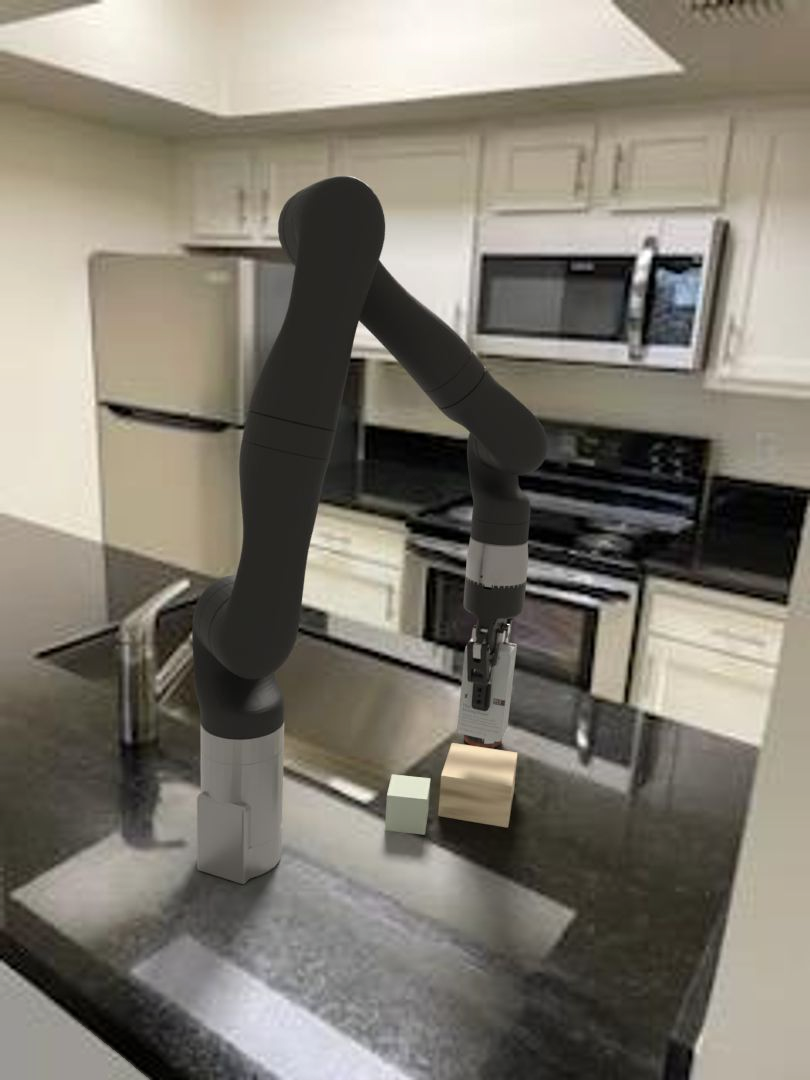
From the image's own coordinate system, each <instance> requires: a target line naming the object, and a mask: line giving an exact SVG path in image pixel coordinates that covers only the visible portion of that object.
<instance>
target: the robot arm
mask: <svg viewBox="0 0 810 1080" xmlns="http://www.w3.org/2000/svg"><path fill="white" fill-rule="evenodd" d="M277 225H278V226H277V234H278V240H279V243H280V246H281V249H282V251H283V252H284V254H285V256H286V258H287V259H288V261H289V262H290V263H291V264H292V265H293V266H294V274H293V281H292V286H291V292H290V298H289V302H288V307H287V310H286V313H285V317H284V320H283V323H282V326H281V328H280V330H279V332H278V335H277V337H276V339H275V341H274V343H273V344H272V347H271V349H270V351H269V354H268V356H267V358H266V360H265V361H264V364H263V366H262V368H261V371H260V372H259V376H258V377H257V381H256V383H255V385H254V388H253V391H252V395H251V398H250V402H249V405H248V411H247V414H246V420H245V425H244V430H243V434H242V439H241V443H240V449H239V458H238V459H239V461H238V462H239V463H238V465H239V466H238V472H239V475H238V477H239V491H240V503H241V515H242V527H243V528H242V543H241V544H242V546H241V552H240V558H239V562H238V566H237V571H236V574H234V575H233V574H232V575H227V576H223V577H220V578H218V579H216V580H215V581H213V582H212V583H211V584H209V585H208V586H206V588H205V589H204V590H203V592H202V593H201V594H200V596H199V597H198V600H197V602H196V604H195V607H194V610H193V611H194V612H193V617H192V628H191V635H192V665H193V685H194V692H195V696H196V700H197V703H198V706H199V713H200V714H199V715H200V793H199V794H198V795H197V796H196V845H197V846H196V854H197V856H196V857H197V858H196V859H197V860H196V861H197V862H196V865H197V871H200V872H202V873H206V874H209V875H212V876H216V877H219V878H222V879H224V880H229V881H231V882H234V883H237V884H241V885H244V884H246V883H247V882H248V881H249V880H250V879H253V878H255V877H259V876H261V875H263V874H265V873H268V872H269V871H271V870H273V868H275V867H276V866H277V864H278V863H279V862H280V860H281V858H282V854H283V853H282V852H283V851H282V850H283V847H282V845H283V807H284V805H283V803H284V802H283V801H284V800H283V797H284V796H283V794H284V793H283V792H284V755H285V754H284V752H285V751H284V750H285V749H284V748H285V746H284V745H285V717H286V715H285V714H286V713H285V711H286V710H285V707H286V705H285V704H286V703H285V698H284V694H283V691H282V689H281V686H280V685H279V683H278V680H277V676H276V673H275V672H277V670H279V669H280V668H281V667H282V666H283V665H284V664H285V662H286V661H287V660H288V658H289V657H290V656H291V653H292V652H293V649H294V647H295V644H296V641H297V638H298V635H299V628H300V621H301V613H302V604H303V595H304V587H305V578H306V577H305V576H306V571H307V563H308V562H307V561H308V556H309V551H310V546H311V545H310V544H311V542H312V536H313V532H314V528H315V524H316V518H317V514H318V509H319V506H320V505H319V504H320V500H321V495H322V490H323V486H324V483H325V482H324V481H325V477H326V473H327V470H328V467H329V463H330V459H331V455H332V449H333V446H334V441H335V437H336V433H337V432H336V430H337V428H338V422H339V417H340V410H341V405H342V402H343V397H344V396H343V395H344V390H345V388H346V381H347V378H348V372H349V367H350V362H351V358H352V352H353V351H352V350H353V346H354V341H355V337H356V334H357V333H356V332H357V330H358V329H357V328H358V325H359V323H360V324H362V326H363V327H365V328H366V330H368V331H369V332H370V334H371V335H372V336H373V337H375V339H377V341H378V342H379V343H380V344H381V345H382V346H383V347H384V348H385V349H386V350H387V352H389V353H390V355H391V356H392V357H393V358H394V359H395V360H396V361H397V362H398V363H399V364H400V365H401V367H402V368H403V369H404V370H405V371H406V373H408V375H409V376H410V377H411V378H412V380H414V381H415V383H416V384H417V385H418V386H419V388H420V389H421V390H422V391H423V392H424V393H425V395H426V396H427V397H428V398H429V399H430V400H431V401H432V403H433V404H435V406H436V407H437V408H438V409H439V411H440V412H441V413H443V415H444V416H445V417H447V418H448V419H449V420H451V421H453V422H455V423H456V424H458V425H460V426H462V427H463V428H465V430H466V431H468V432H469V434H468V437H467V438H468V439H467V444H466V445H467V446H466V454H467V455H466V459H467V467H468V476H469V484H470V485H469V486H470V490H471V495H472V501H473V507H472V514H471V522H470V523H471V525H470V537H469V544H468V548H467V553H466V565H465V566H466V567H465V579H464V590H463V592H464V593H463V608H464V609H465V610H466V611H467V612H468V613H470V614H472V615H474V616H475V617H476V618H477V622H476V624H474V625H473V627H472V631H471V638H472V639H473V641H470V640H468V642H467V643H466V646H467V679H468V682H473V692H472V708H473V709H476V710H481V711H487V710H488V709H489V707H490V698H491V686H492V682H493V672H494V667H495V666H497V665H498V664H499V654H500V651H501V646H502V644H503V643H504V644H506V643H507V642H508V643H510V642H511V641H510V640H511V633H512V626H513V621H514V618H517V617H519V616H520V615H522V614H523V612H524V608H525V598H526V597H525V596H526V586H527V578H528V577H527V576H528V568H529V567H528V566H529V547H528V544H529V542H528V541H529V531H530V520H531V502H530V499H529V498H528V496H527V495H526V494H525V493H524V492H523V491H522V489H521V487H520V485H519V476H524V475H528V474H531V473H533V472H535V471H536V470H538V469H539V468H540V467H541V466H542V464H543V463H544V462H545V460H546V457H547V455H548V454H547V453H548V450H549V449H548V437H547V436H548V435H547V434H546V430H545V429H544V427H543V425H542V423H541V422H540V421H539V419H538V418H537V416H536V415H534V413H533V412H532V411H531V410H530V409H529V408H528V407H527V406H525V404H524V403H523V402H521V400H520V399H518V398H517V397H516V396H514V394H512V393H511V392H510V391H509V390H508V389H506V388H505V387H504V386H503V385H502V384H500V383H499V382H498V381H497V380H496V379H495V378H494V377H493V376H492V374H491V373H490V371H489V370H488V369H487V367H486V366H485V365H484V363H483V362H482V361H481V359H479V357H478V356H477V355H476V353H475V352H474V351H473V350H472V348H470V346H469V345H468V344H467V343H466V342H465V340H464V339H463V338H462V337H461V336H460V335H459V334H458V333H457V332H456V331H455V330H454V329H453V328H452V327H451V326H450V325H449V324H447V322H445V321H444V320H443V318H441V317H439V316H438V315H437V314H436V313H435V312H433V311H432V310H431V309H430V308H428V307H427V306H426V305H425V304H424V303H422V302H421V301H420V300H418V299H417V298H416V297H415V296H414V295H412V294H411V293H410V292H409V290H407V289H406V288H405V287H404V286H403V285H402V284H401V283H399V281H398V280H397V279H396V278H395V277H394V276H393V275H392V274H391V273H390V271H389V270H388V269H387V268H386V267H385V265H384V264H383V263H382V261H381V260H380V258H381V256H382V252H383V247H384V245H385V244H384V243H385V239H386V220H385V213H384V210H383V206H382V204H381V201H380V199H379V197H378V195H377V194H376V192H375V191H374V190H373V188H372V187H371V186H370V185H368V184H367V183H366V182H365V181H363V180H362V179H359V178H358V177H354V176H350V175H336V176H335V175H334V176H331V177H327V178H324V179H321V180H319V181H317V182H315V183H312V184H311V185H308V186H306V187H304V188H303V189H300V190H299V191H297V192H296V193H294V194H293V195H292V196H291V197H289V198H288V200H287V201H285V204H284V205H283V207H282V209H281V211H280V213H279V218H278V223H277ZM493 654H494V657H493V659H489V655H493ZM478 670H481V671H482V672H483V673H479V672H478Z"/></svg>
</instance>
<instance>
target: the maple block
mask: <svg viewBox="0 0 810 1080" xmlns="http://www.w3.org/2000/svg"><path fill="white" fill-rule="evenodd" d="M445 759H446V760H445V761H444V762H445V763H444V766H443V769H442V771H441V775H440V787H439V801H438V811H437V812H438V814H437V816H438V817H443V818H449V819H455V820H460V821H461V820H462V821H465V822H473V823H478V824H483V825H484V824H485V825H490V826H496V827H502V828H509V824H510V817H511V811H512V805H513V799H514V792H515V783H516V773H517V765H518V763H517V760H518V752H515V751H509V750H502V749H495V748H491V749H490V748H483V747H477V746H471V745H469V744H462V743H456V742H452V743H451V744H450V747H449V750H448V753H447V757H446V758H445Z"/></svg>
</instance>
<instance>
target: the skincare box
mask: <svg viewBox="0 0 810 1080" xmlns="http://www.w3.org/2000/svg"><path fill="white" fill-rule="evenodd" d="M469 641H473V639H472V637H471V638H470V640H469ZM517 648H518V645H517V643H512V642H509V643H508V642H507V643H506V644H504V643H503V644H502V646H501V651H500V654H499V664H498V665H497V666H495V667H494V672H493V682H492V686H491V698H490V707H489V709H488V710H487V711H481V710H476V709H473V708H472V692H473V682H468V679H467V645H466V646H465V649H464V657H463V668H462V675H461V677H462V678H461V687H460V697H459V707H458V718H457V728H456V732H457V734H460V735H463V736H464V735H469V736H473V737H477V738H482V739H486V740H491V741H495V742H500V741H501V739H502V740H503V737H504V736H505V733H506V731H507V729H508V725H509V716H510V705H511V699H512V690H513V683H514V681H513V679H514V673H515V664H516V655H517ZM493 657H494V654H493V655H489V659H493ZM478 672H479V673H483V672H482V671H481V670H478Z"/></svg>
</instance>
